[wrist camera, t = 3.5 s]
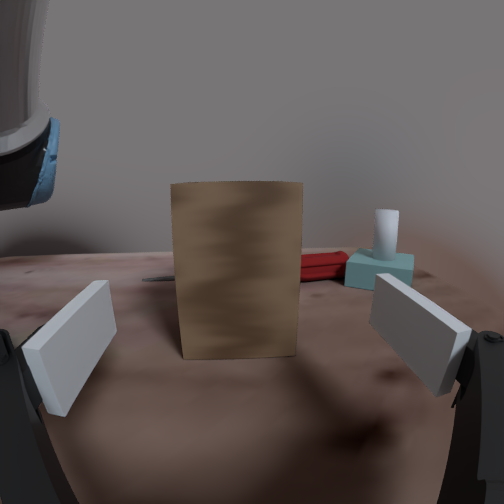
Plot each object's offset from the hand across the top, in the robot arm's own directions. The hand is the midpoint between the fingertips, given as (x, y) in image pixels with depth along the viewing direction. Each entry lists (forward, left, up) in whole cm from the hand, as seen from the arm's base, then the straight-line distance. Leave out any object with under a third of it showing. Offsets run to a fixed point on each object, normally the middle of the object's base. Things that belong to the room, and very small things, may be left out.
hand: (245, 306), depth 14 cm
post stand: (+3, +27, -6) cm, 28 cm away
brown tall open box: (-6, +8, -6) cm, 11 cm away
